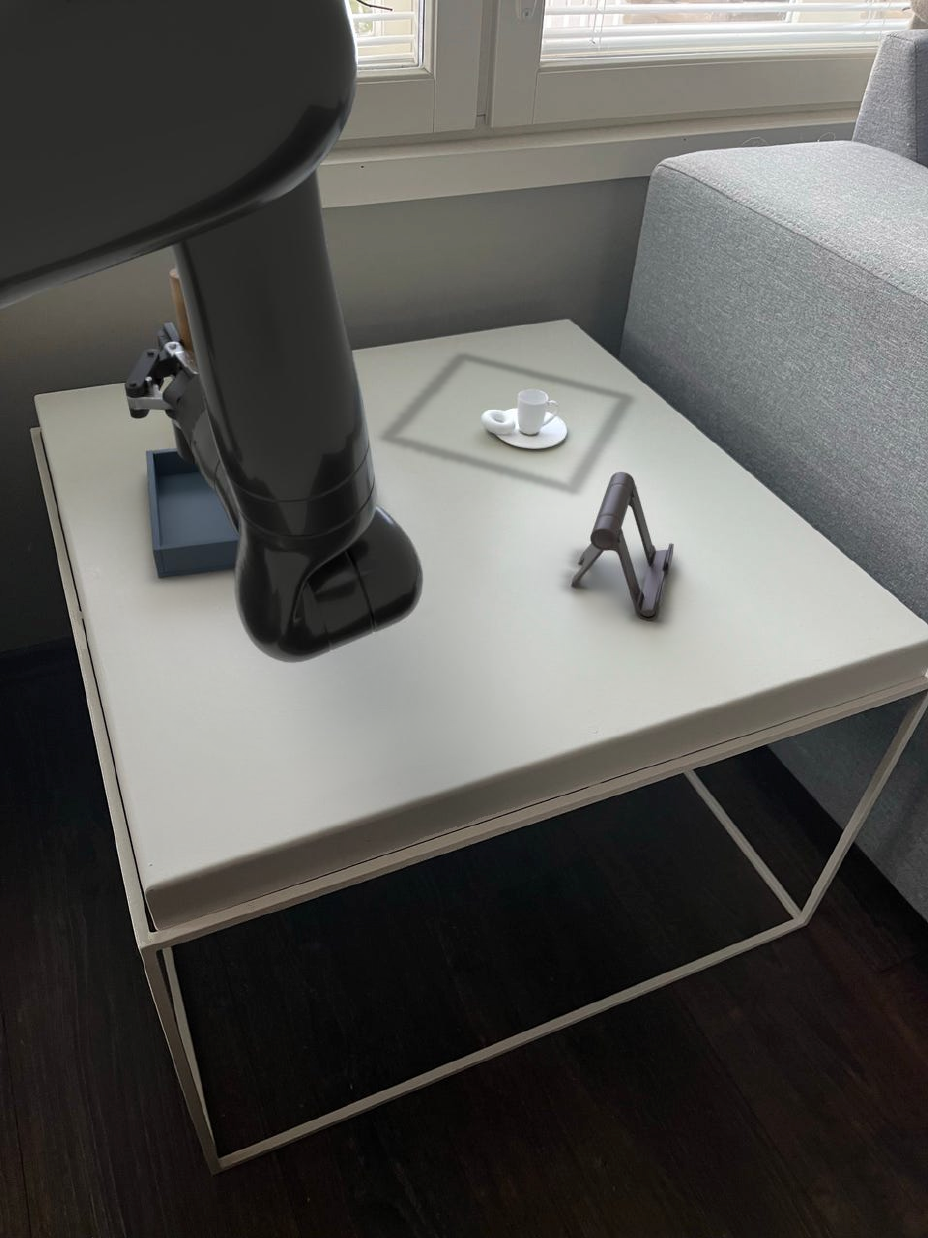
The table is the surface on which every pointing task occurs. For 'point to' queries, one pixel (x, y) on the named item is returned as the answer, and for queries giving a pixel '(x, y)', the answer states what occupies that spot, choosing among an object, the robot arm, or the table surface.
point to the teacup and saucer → (527, 422)
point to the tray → (186, 519)
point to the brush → (185, 336)
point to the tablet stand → (612, 538)
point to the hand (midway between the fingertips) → (187, 331)
